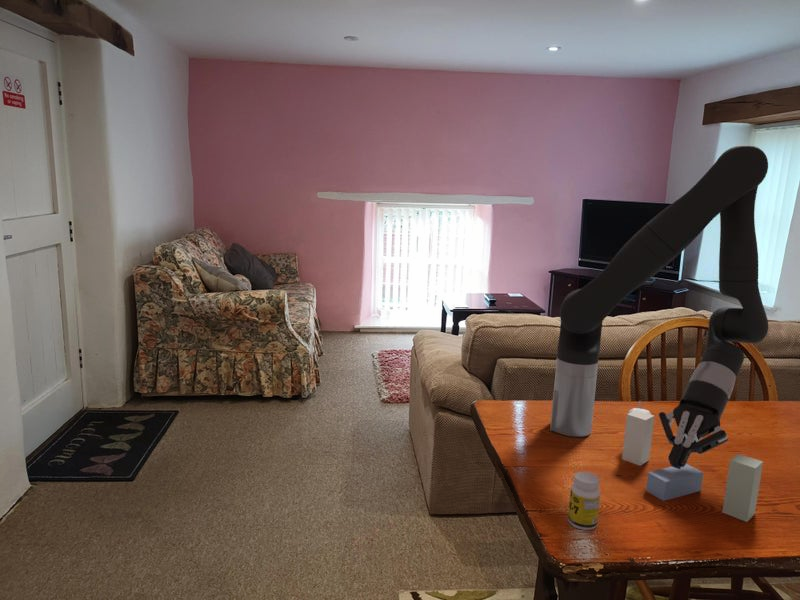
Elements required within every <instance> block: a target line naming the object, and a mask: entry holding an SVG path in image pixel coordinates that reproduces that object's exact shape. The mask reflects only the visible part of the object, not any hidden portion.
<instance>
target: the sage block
mask: <svg viewBox="0 0 800 600" xmlns="http://www.w3.org/2000/svg"><path fill="white" fill-rule="evenodd" d="M763 464H764V461H763V460H759V459H755V458H753V457H751V456H750V457H749V456H747V455H744V454H740V453H737V454H736V455H734V456H733V457H732V458H731V459H730V460H729V465H728V472H727V477H726V478H727V479H726V485H725V493H724V498H723V499H724V500H723V505H722V511H721V512H722V513H723V514H725V515H728V516H730V517H732V518H735V519H738V520H741V521H743V522H745V523H747V522H749V520H751V519H752V517H754V515H755V514H756V509H757V504H758V503H757V502H758V495H759V490H760V483H761V478H762V477H761V476H762V470H763Z"/></svg>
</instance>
